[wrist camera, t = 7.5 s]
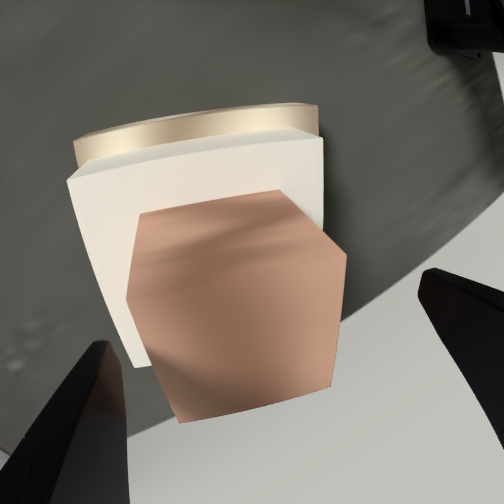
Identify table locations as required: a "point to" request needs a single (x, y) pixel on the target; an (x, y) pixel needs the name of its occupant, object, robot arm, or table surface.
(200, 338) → the terracotta cube
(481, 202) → the table surface
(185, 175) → the cream top slab
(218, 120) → the birch base slab
